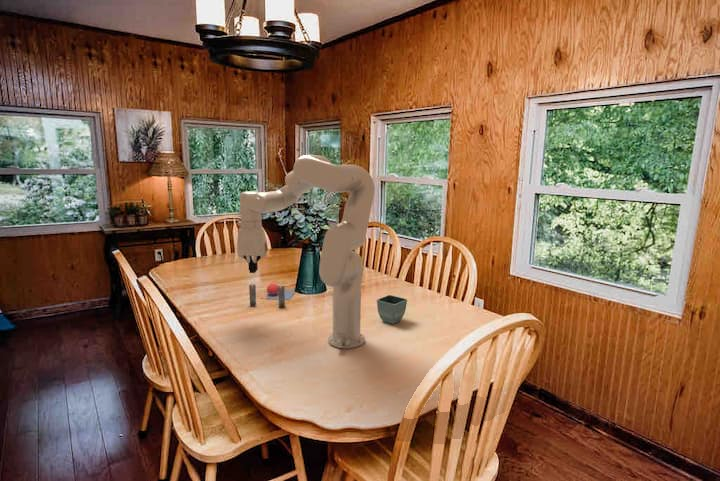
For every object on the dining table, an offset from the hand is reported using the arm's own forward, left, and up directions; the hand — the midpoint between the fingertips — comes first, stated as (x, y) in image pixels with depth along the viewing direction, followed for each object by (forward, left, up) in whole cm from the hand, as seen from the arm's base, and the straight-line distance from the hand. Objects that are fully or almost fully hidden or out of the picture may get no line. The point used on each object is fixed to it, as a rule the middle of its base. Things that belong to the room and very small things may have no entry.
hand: (253, 272), depth 157 cm
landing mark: (+31, 0, -19) cm, 36 cm away
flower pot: (+5, -53, -19) cm, 57 cm away
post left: (+15, +6, -19) cm, 25 cm away
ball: (+30, +2, -16) cm, 34 cm away
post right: (+15, -6, -19) cm, 25 cm away
